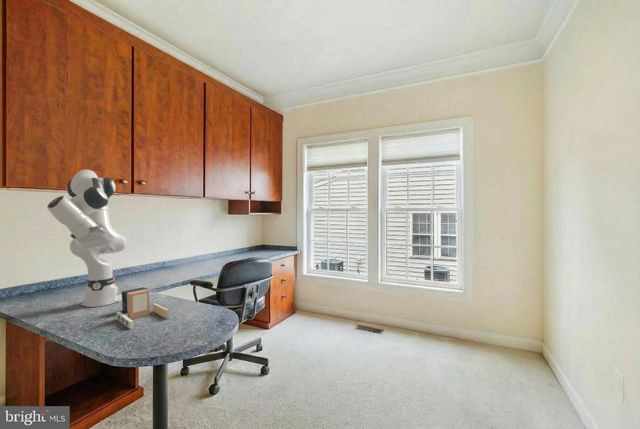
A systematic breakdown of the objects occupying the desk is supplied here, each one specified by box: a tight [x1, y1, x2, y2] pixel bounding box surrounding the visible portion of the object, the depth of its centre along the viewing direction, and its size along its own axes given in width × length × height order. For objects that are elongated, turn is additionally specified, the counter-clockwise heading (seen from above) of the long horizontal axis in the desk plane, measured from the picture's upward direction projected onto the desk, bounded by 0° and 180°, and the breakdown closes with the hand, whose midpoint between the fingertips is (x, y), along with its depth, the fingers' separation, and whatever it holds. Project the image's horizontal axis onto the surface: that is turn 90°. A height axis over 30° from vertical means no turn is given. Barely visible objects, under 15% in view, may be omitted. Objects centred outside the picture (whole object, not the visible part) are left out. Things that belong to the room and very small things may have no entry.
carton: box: [127, 289, 151, 320], centre depth 142 cm, size 5×8×12 cm, turn 139°
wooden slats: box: [116, 302, 170, 330], centre depth 138 cm, size 20×16×4 cm
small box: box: [121, 286, 149, 314], centre depth 152 cm, size 11×6×10 cm, turn 141°
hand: (109, 250), depth 135 cm, fingers open, 8 cm apart
